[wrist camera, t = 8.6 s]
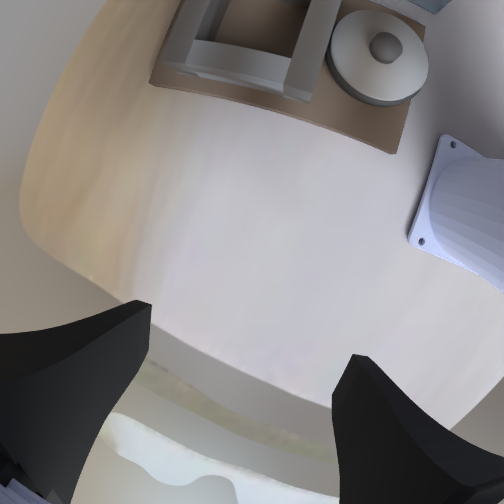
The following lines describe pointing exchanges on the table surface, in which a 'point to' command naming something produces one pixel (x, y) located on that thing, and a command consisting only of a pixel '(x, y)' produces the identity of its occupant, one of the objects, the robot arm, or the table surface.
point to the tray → (431, 4)
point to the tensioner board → (301, 61)
